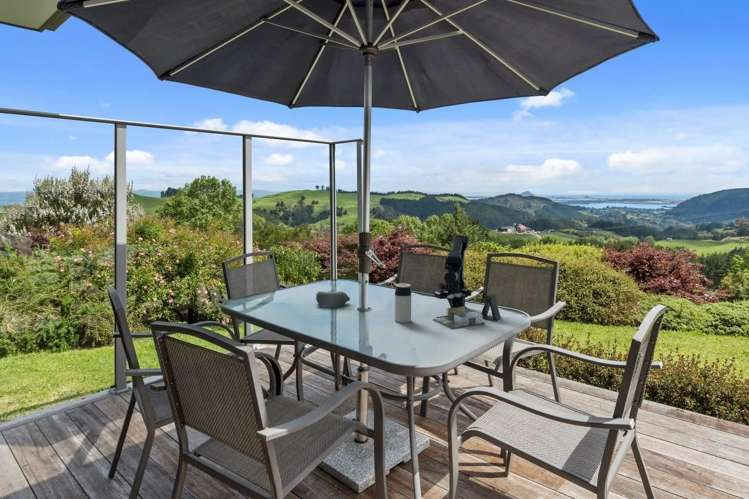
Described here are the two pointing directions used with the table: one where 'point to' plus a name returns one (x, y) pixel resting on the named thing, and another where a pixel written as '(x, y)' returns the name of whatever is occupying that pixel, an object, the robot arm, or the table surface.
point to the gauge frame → (461, 320)
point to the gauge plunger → (453, 312)
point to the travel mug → (403, 303)
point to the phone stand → (494, 308)
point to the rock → (332, 298)
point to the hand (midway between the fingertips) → (452, 310)
